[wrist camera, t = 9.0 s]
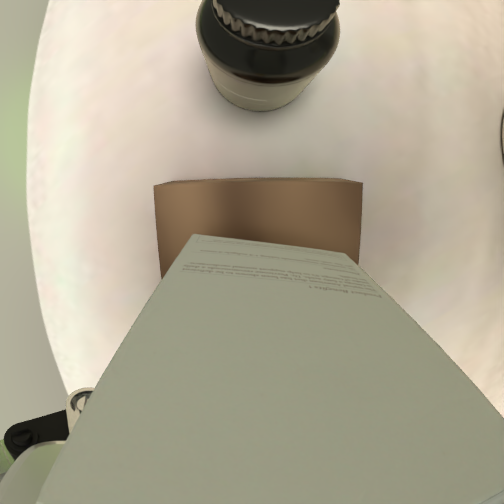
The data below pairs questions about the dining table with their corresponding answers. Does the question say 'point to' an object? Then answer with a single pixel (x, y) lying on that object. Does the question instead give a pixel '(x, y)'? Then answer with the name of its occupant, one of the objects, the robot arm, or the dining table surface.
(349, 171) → the dining table surface
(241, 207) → the walnut block
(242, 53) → the supplement bottle
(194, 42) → the dining table surface
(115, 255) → the dining table surface
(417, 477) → the supplement box
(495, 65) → the dining table surface
